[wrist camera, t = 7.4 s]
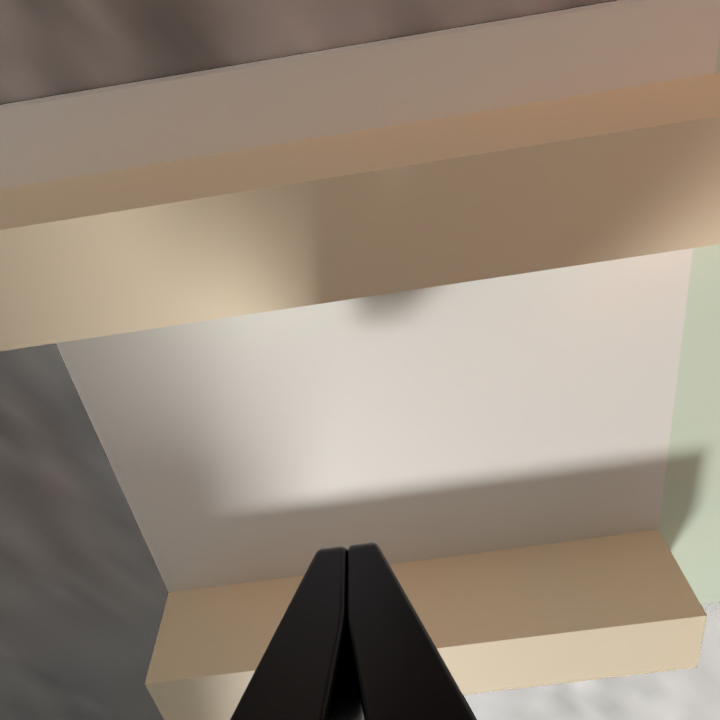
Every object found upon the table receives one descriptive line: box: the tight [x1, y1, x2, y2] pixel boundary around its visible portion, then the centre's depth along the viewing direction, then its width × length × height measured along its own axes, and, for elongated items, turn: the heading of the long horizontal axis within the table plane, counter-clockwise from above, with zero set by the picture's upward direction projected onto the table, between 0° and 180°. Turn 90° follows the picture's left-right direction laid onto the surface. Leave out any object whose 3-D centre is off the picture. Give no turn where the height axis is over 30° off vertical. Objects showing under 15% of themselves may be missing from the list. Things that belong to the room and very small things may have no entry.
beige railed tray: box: [0, 0, 720, 720], centre depth 11 cm, size 18×12×2 cm, turn 99°
